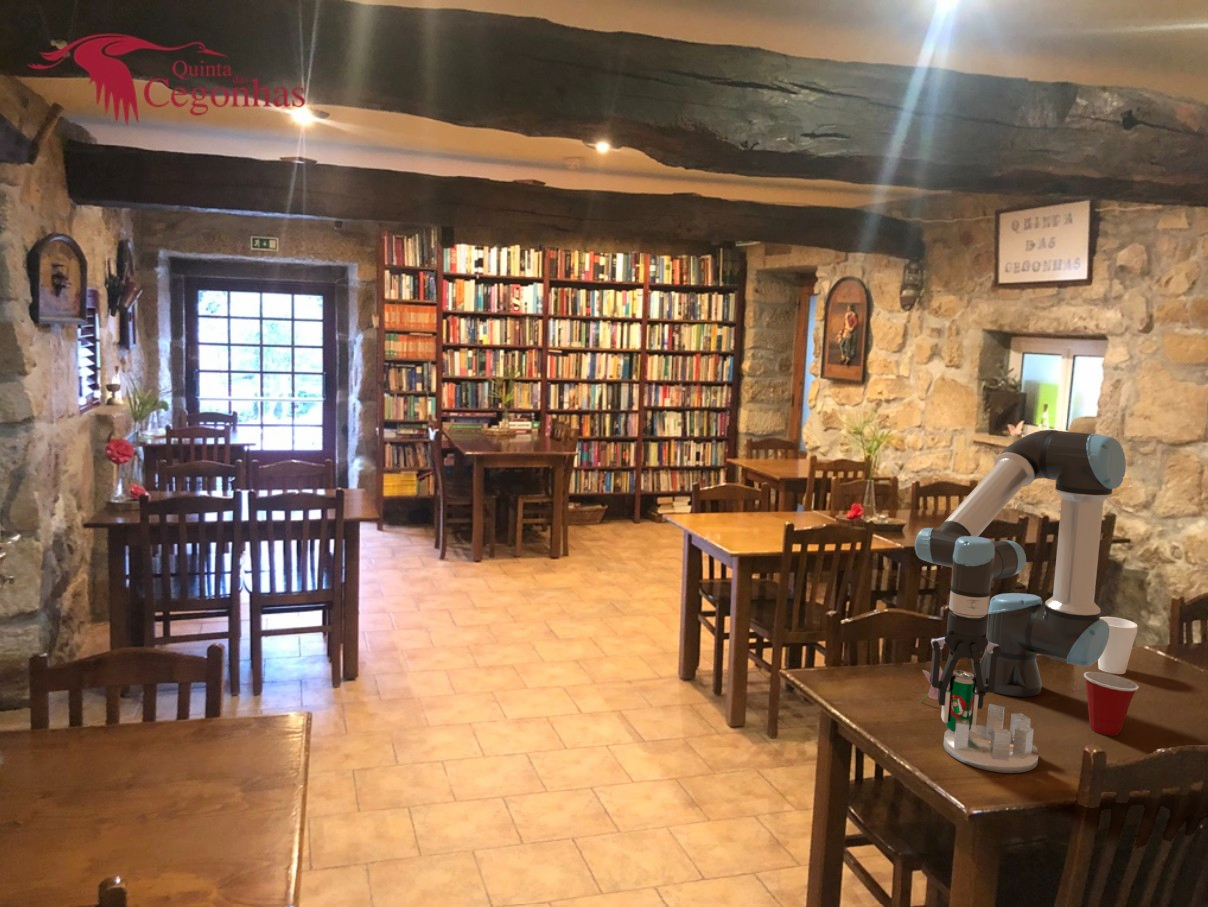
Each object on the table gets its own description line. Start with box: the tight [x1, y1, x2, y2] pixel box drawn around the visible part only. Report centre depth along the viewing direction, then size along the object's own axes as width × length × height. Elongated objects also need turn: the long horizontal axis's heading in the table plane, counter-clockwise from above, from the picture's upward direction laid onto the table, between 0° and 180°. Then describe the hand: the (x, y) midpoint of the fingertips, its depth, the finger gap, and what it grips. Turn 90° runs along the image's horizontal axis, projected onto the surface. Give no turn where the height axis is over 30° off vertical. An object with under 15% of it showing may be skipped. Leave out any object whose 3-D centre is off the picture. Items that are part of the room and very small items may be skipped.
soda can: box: [944, 669, 976, 732], centre depth 189 cm, size 5×5×12 cm
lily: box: [920, 666, 949, 708], centre depth 212 cm, size 12×12×10 cm
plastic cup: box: [1083, 671, 1140, 737], centre depth 202 cm, size 11×11×12 cm
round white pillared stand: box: [943, 703, 1039, 774], centre depth 188 cm, size 18×18×8 cm
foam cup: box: [1097, 616, 1138, 675], centre depth 241 cm, size 10×9×13 cm
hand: (958, 720), depth 189 cm, fingers closed on soda can, 5 cm apart
